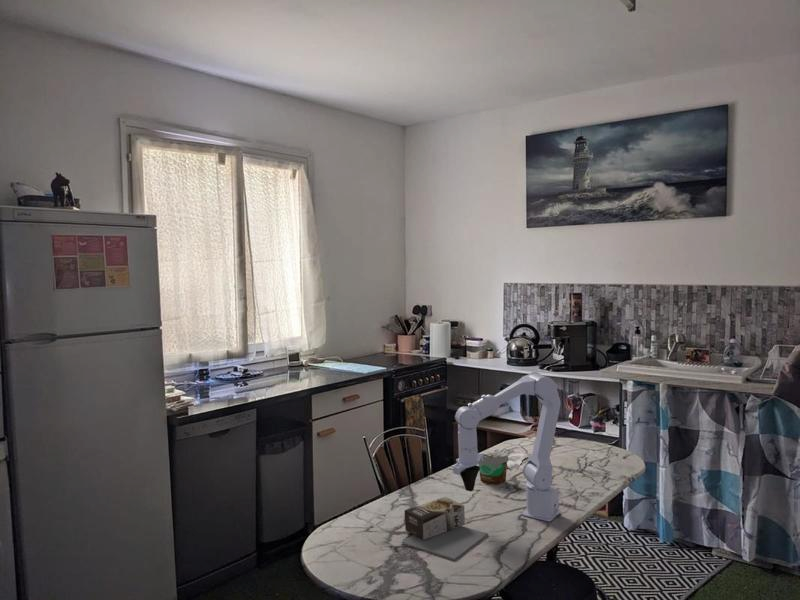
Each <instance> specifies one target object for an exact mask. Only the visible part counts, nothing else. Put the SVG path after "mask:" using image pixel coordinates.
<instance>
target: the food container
mask: <svg viewBox="0 0 800 600" xmlns="http://www.w3.org/2000/svg"><path fill="white" fill-rule="evenodd" d="M477 453H478V454H480V453H479V451H477ZM481 454H482V455H483V461H479V463H478V465H477V466H479V467H480V470H479V472H478V473H479V478H480V482H481V481H482V482H481V483H483V484H485V483H486V485H491V484H493V486H494V485H496V486H497V485H501V484H504V483H506V482H507V470H508V469H507V468H508V467H507V461H509V458H508V456H509V455H508V454H506V455H504V456H501V455H497V454H491V453H489V454H485V453H481Z"/></svg>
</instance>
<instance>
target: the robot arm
mask: <svg viewBox="0 0 800 600" xmlns="http://www.w3.org/2000/svg"><path fill="white" fill-rule="evenodd" d="M521 395H529V396H536V398H537V399H538V400H539V401H540V403H541V410H540V415H539V420H538V425H537V430H536V433H535V434H536V435H535V441H534V443H533V444H534V445H533V448H532V453H531V454H530V455H528V456H529V457H527V461H526V463H525V464H524V466H523V468H522V475H523V477H524V478H525V479H526V482H525V489H526V490H525V491H526V510H524V511H523V512H521V515H522V516H523V517H524V516H525V517H528V518H532V519H537V520H540V521H543V522H544V521H545V522H552V521H553V520H554V519H555V518H556V517H557V516H558V515H560V514H561V511H560V498H559V491H558V490H557V489H555V488H554V487H553V488H552V484H553V481H554V480H553V474H552V470H553V464H552V462H551V461H552V460H551V459H550V457H551V454H552V448H553V444H554V439H555V434H556V428H557V424H558V419H559V415H560V410H561V409H560V408H561V405H562V404H561V403H562V402H561V398H560V394H559V391H558V384H557V383H556V382H555V381H554V380H553V379H552V378H551V377H549V376H546V375H543V374H541V373H539V372H537V371H533V372H530V373H528V374H527V375H523V376H522V377H520V378H519V379H518V380H517V381H515V382H513V383H512V384H511V385H509V386H507V387H505V388H504V389H502V390H501V391H499V392H498V393H496V394H495V395H492V394H489V393H488V394H482V395H480V398H479V399H477V400H476V401H474V402H472V403H471V402H469V403H467V406H461V407H459V408H458V409H457V411H456V412H455V415H454V419H455V421H456V423H457V443H458V444H457V445H458V458H456V459H455V462H456V463H455V465H454V466H453V467H452V470H453V471H452V474H454V475H460V477H461V479H462V482H463V485H464V488H465V491H467V492H473V491H474V488H475V485H476V479H477V477H478V474H479V473H480V472H479V470H480V467H479V465H478V463H479V461H483V455H482V454H483V453H479V452H478V436H477V435H478V433H477V426H478V425H479V422H480V421H482V420H484V419H486V418H488V417H489V416H491V415H494V414H495V413H496V412H499V409H500V406H501V405H503V404H505V403H508V402H509V401H511V400H513V399H515V398H517V397H519V396H521ZM477 452H478V453H479V454H478V453H477Z"/></svg>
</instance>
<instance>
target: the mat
mask: <svg viewBox="0 0 800 600" xmlns="http://www.w3.org/2000/svg"><path fill="white" fill-rule="evenodd" d="M488 536H489V533H488V532H484V531H480V530H477V529H472V528H469V527H466V526H464V525H463V526H460V527H457V528H455V529H452V530H449V531H446V532H444V533H441V534H438V535H436V536H433V537H430V538H428V539H425V540H422V539H420V538H419V537H417V536H415V535H413V534H411V535H410V536H408V537H407V538H405V539H404V540H402V541H401V543H403V544H406V545H409V546H411V547H410V548H412V547H414V548H413V549H415V548H417V549H416V550H418V549H420V550H419V551H421V550H422V551H421V552H425V551H426V552H425V553H428V554H431V555H435V556H438V557H439V558H440V557H441V558H444V559H447V560H450V561H453V562H456V561H457V560H458V559H459V558H460V557H462V556H463V555H465V554H466V553H467V552H469V551H470V550H471V549H472V548H474V547H475V546H476V545H478V544H479V543H480V542H482V541H483V540H484V539H486V538H487V537H488ZM401 543H400V544H401ZM403 544H402V545H403ZM406 545H405V546H406ZM409 546H408V547H409Z"/></svg>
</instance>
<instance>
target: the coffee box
mask: <svg viewBox="0 0 800 600" xmlns="http://www.w3.org/2000/svg"><path fill="white" fill-rule="evenodd" d="M465 512H466V511H465V504H462V503H461V502H457V501H456V500H453V499H451V498H449V497H447V496H443V497H440V498H436V499H433V500H432V501H428V502H425V503H421V504H419V505H417V506H416V505H415V506H413V507H410V508H408V509H407V508H406V509H404V523H405V524H404V525H405V529H404V530H405V531H406V532H408V533H410V534H411V535H415V536H417V537H419V538H420V539H422V540H425V539H428V538H430V537H433V536H436V535H438V534H441V533H444V532H446V531H449V530H452V529H455V528H457V527H460V526H463V527H464V526H465V525H466V524H465V523H466V522H465V520H466V519H465V516H466V515H465Z"/></svg>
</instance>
